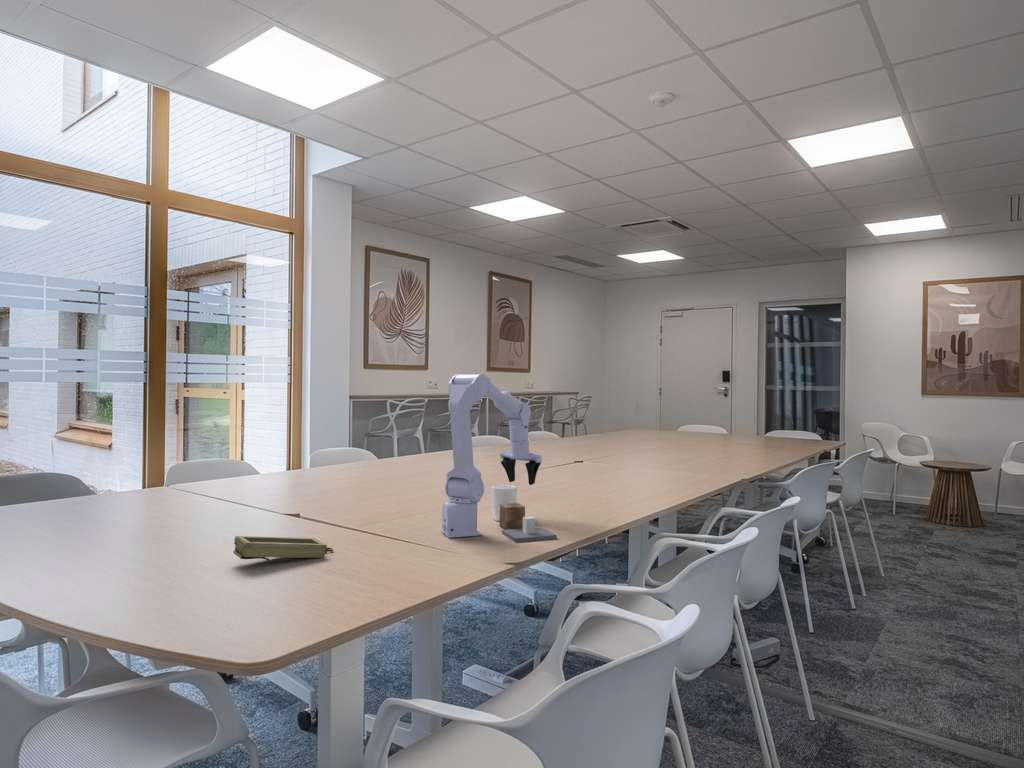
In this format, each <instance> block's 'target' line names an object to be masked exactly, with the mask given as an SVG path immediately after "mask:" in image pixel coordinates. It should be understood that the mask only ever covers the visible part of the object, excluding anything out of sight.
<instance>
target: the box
mask: <svg viewBox="0 0 1024 768" xmlns="http://www.w3.org/2000/svg"><path fill="white" fill-rule="evenodd" d="M233 543H234V545H235V546H234V550H233V552H232V553H233V554H234V555H235V556H236V557H238V558H239V559H240V560H256V559H257V560H258V559H261V560H262V559H263V560H267V561H269V562H270V563H272V560H271V559H270V558H301V559H302V558H307V559H308V558H309V559H310V558H311V559H312V558H315V559H316V558H317V559H319V558H320V559H322V558H323V559H324V558H325V554H326V552H329V553H332V552H334V548H333V547H329V546H328V545H327V544H326V543H324V542H322V541H320V540H319V539H317V538H315V537H292V536H291V537H289V536H288V537H287V536H286V537H285V536H256V535H255V536H251V535H248V536H247V535H246V536H245V535H236V536H235V537H234V541H233Z"/></svg>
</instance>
